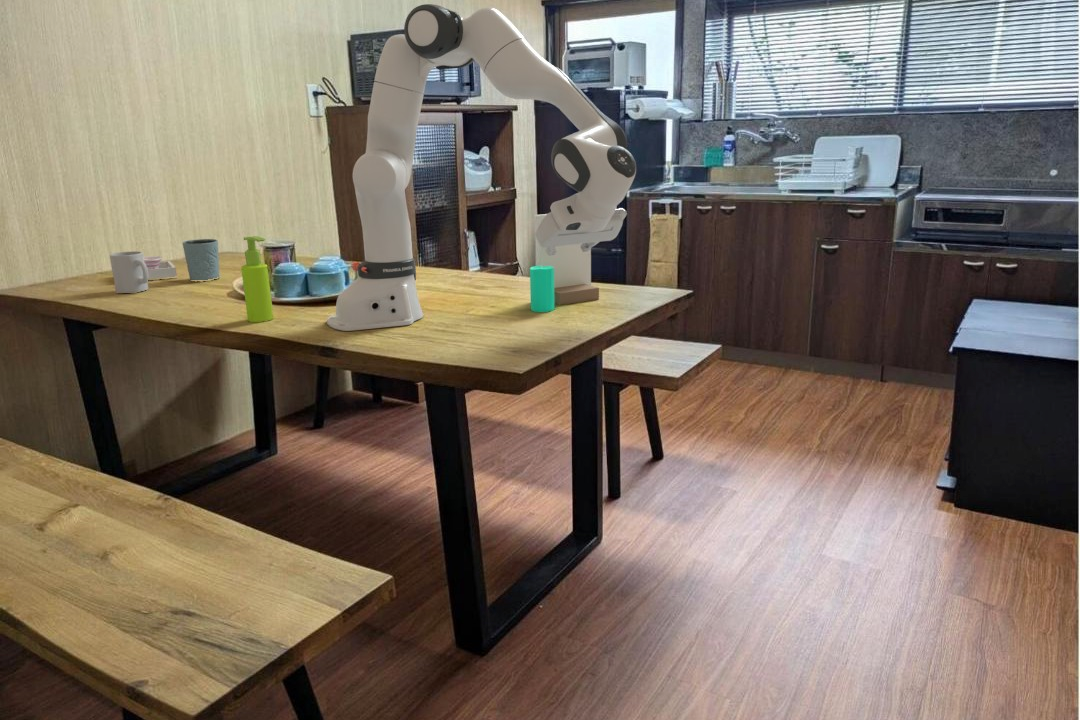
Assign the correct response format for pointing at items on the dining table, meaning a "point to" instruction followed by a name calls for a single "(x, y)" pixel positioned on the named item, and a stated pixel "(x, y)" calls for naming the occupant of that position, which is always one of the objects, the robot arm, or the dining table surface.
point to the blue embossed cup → (202, 258)
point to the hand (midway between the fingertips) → (567, 251)
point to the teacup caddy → (163, 271)
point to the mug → (129, 272)
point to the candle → (542, 288)
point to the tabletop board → (568, 271)
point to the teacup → (152, 262)
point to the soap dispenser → (256, 284)
